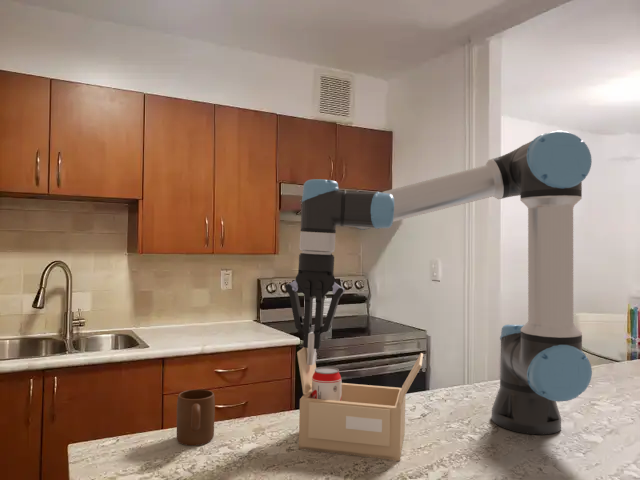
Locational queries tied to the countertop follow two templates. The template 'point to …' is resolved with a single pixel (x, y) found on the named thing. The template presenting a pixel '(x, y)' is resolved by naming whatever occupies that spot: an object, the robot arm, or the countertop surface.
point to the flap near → (411, 377)
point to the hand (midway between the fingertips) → (311, 363)
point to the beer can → (327, 384)
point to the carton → (354, 422)
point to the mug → (195, 417)
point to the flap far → (305, 370)
